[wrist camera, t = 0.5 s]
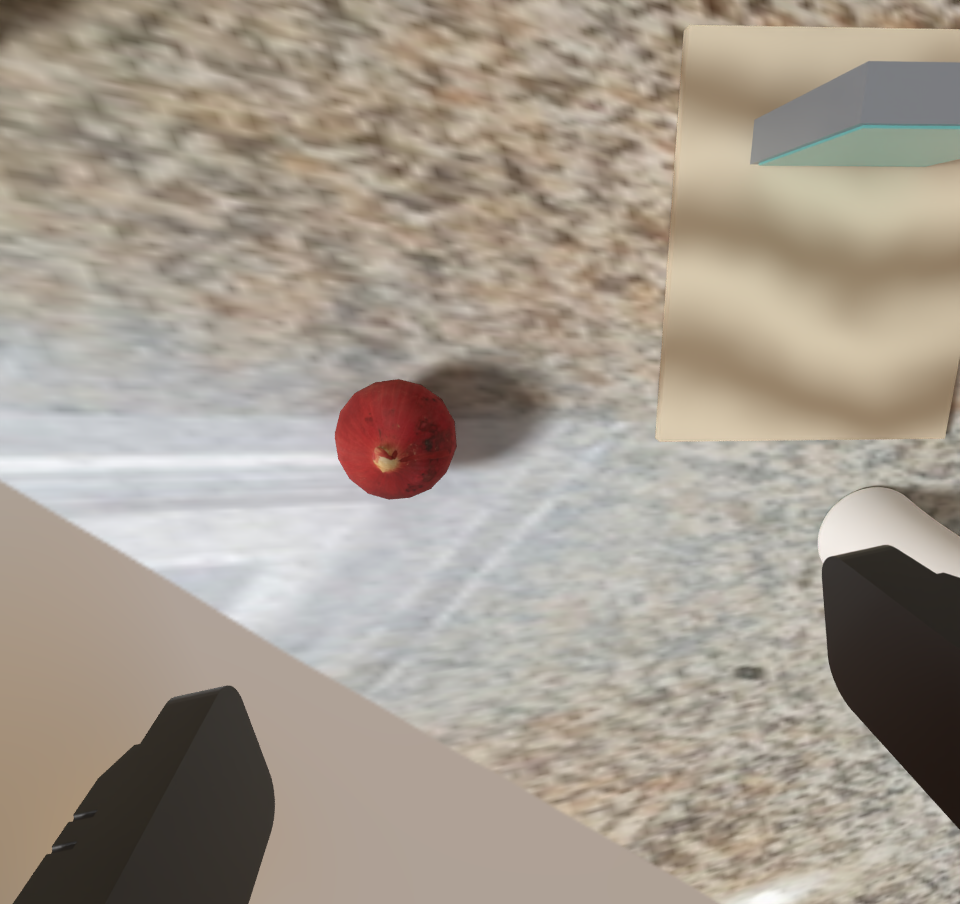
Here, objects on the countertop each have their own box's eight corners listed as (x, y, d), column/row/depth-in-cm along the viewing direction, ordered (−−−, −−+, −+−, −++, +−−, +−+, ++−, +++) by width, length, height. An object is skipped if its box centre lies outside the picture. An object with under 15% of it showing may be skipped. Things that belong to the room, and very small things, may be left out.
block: (754, 119, 32) (868, 61, 23) (934, 121, 32) (1113, 64, 24) (749, 166, 32) (859, 126, 24) (927, 167, 33) (1099, 128, 24)
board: (683, 31, 31) (689, 25, 31) (1007, 36, 32) (1021, 30, 31) (655, 438, 37) (659, 441, 36) (934, 435, 37) (944, 438, 36)
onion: (449, 365, 35) (449, 390, 27) (460, 468, 37) (463, 519, 29) (340, 375, 35) (309, 403, 27) (355, 478, 36) (330, 533, 29)
